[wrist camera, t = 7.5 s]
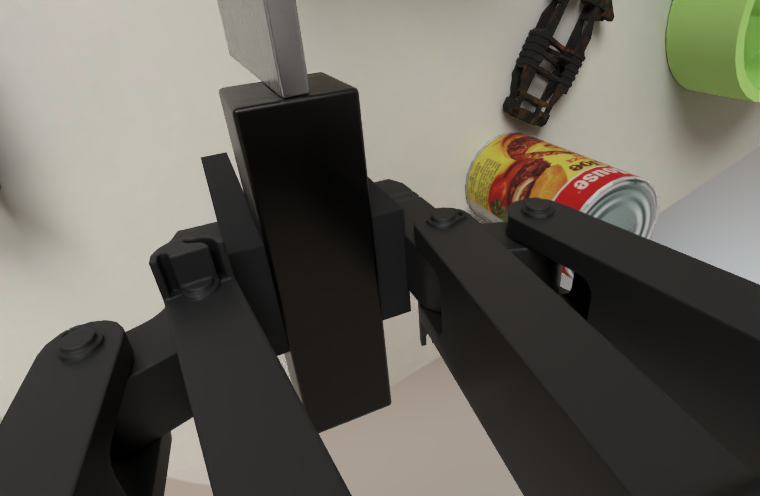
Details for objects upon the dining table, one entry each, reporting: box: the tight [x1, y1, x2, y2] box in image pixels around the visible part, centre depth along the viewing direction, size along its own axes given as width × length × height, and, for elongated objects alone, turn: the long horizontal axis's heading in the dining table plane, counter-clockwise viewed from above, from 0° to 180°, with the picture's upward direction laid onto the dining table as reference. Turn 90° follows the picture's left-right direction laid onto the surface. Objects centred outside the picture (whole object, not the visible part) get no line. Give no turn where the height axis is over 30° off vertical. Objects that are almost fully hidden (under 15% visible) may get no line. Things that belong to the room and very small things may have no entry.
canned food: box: [466, 132, 659, 279], centre depth 36 cm, size 8×8×12 cm
